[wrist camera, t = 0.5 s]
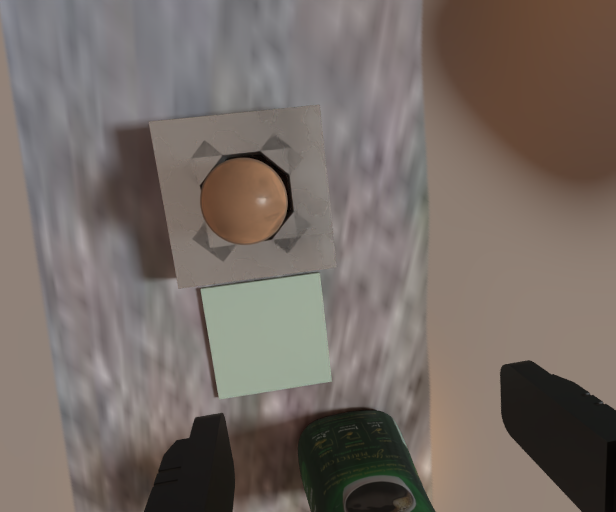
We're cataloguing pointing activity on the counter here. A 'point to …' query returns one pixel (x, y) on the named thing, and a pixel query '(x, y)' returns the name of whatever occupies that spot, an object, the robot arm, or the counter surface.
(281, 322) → the mat
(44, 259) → the counter surface
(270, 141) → the housing
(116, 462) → the counter surface
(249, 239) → the tan rounded cylinder
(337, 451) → the coffee jar
